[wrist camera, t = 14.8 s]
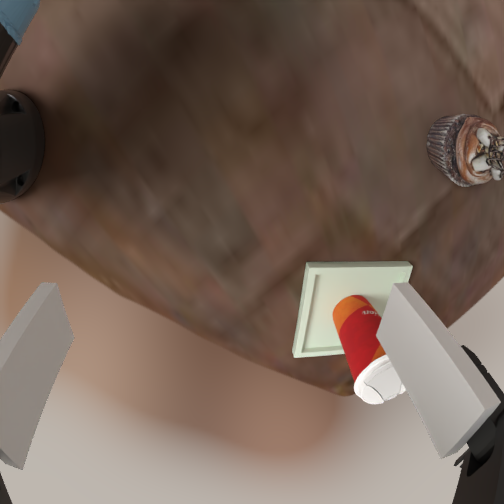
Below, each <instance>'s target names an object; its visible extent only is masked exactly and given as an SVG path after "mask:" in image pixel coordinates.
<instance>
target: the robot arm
mask: <svg viewBox="0 0 504 504" xmlns="http://www.w3.org/2000/svg"><path fill="white" fill-rule="evenodd" d="M39 5H40V0H0V78H1V76H2V74H3V72H4V70H5V68H6V66H7V64H8V63H9V61H10V59H11V57H12V55H13V53H14V52H15V50H16V48H17V46H18V45H19V46H20V44H21V42H22V37H23V35H24V33H25V31H26V29H27V27H28V26H29V24H30V22H31V20H32V19H33V17H34V15H35V14H36V12H37V10H38V8H39ZM44 147H45V137H44V128H43V124H42V120H41V117H40V114H39V112H38V110H37V108H36V106H35V105H34V103H33V102H32V101H31V100H30V99H29V98H28V97H27V96H26V95H24V94H23V93H21V92H18V91H14V90H3V91H0V204H1V203H6V202H9V201H11V200H13V199H15V198H16V197H18V196H20V195H21V194H23V193H24V192H26V191H27V190H28V189H29V188H30V186H31V185H32V184H33V182H34V181H35V179H36V177H37V175H38V173H39V171H40V168H41V165H42V161H43V156H44ZM376 337H377V338H378V340H379V342H380V344H381V345H382V347H383V349H384V351H385V352H386V354H387V356H388V358H389V360H390V361H391V363H392V365H393V367H394V369H395V370H396V372H397V374H398V376H399V378H400V380H401V381H402V383H403V385H404V387H405V389H406V391H407V392H408V395H409V396H410V398H411V400H412V402H413V404H414V406H415V408H416V410H417V412H418V414H419V416H420V417H421V419H422V422H423V424H424V425H425V427H426V429H427V431H428V433H429V435H430V437H431V440H432V442H433V444H434V446H435V448H436V450H437V452H438V454H439V456H440V458H441V459H442V458H445V457H447V456H450V455H452V454H454V453H456V452H458V451H459V450H460V449H461V448H462V447H463V446H464V445H465V444H466V443H467V444H468V446H469V449H468V450H467V451H466V452H465V453H464V454H463V455H462V456H460V457H459V458H458V459H457V460H456V462H455V464H454V466H457V465H458V464H459V463H460V462H461V461H462V460H463V459H464V461H463V464H462V465H461V466H460V467H461V468H462V470H461V474H460V478H459V482H458V485H457V489H456V493H455V496H454V499H453V503H452V504H504V393H503V392H502V391H501V389H500V388H499V386H498V385H497V383H496V382H495V381H494V379H493V378H492V376H491V375H490V374H489V373H487V370H486V368H485V367H484V366H483V365H481V362H480V360H479V359H478V358H477V356H476V355H475V354H474V353H473V352H472V351H470V350H469V349H468V348H467V347H465V346H464V345H462V346H460V344H459V343H458V342H457V341H456V339H455V338H454V337H453V335H452V334H451V333H450V332H449V331H448V329H447V328H446V327H445V325H444V324H443V323H442V322H441V320H440V319H439V318H438V317H437V316H436V314H435V313H434V312H433V311H432V310H431V308H430V307H429V306H428V305H427V304H426V302H425V301H424V300H423V299H422V298H421V296H420V295H419V294H418V293H417V292H416V291H415V290H414V288H413V287H412V286H411V285H410V284H409V283H408V282H405V283H393V285H392V289H391V292H390V295H389V298H388V301H387V305H386V308H385V311H384V314H383V317H382V320H381V323H380V325H379V328H378V331H377V334H376ZM73 340H74V335H73V332H72V329H71V327H70V324H69V321H68V318H67V315H66V312H65V308H64V305H63V302H62V299H61V295H60V292H59V288H58V285H57V283H44V282H42V283H41V284H40V285H39V286H38V288H37V289H36V290H35V292H34V293H33V294H32V296H31V297H30V298H29V300H28V301H27V302H26V304H25V305H24V306H23V308H22V309H21V311H20V312H19V313H18V315H17V316H16V318H15V319H14V320H13V322H12V323H11V325H10V326H9V328H8V329H7V331H6V332H5V334H4V335H3V337H2V338H1V340H0V459H1V460H2V461H3V462H4V463H5V464H8V465H10V466H13V467H16V468H18V469H21V470H23V467H24V464H25V461H26V457H27V454H28V451H29V448H30V445H31V442H32V439H33V436H34V433H35V430H36V428H37V425H38V422H39V419H40V417H41V414H42V411H43V409H44V406H45V404H46V401H47V399H48V396H49V394H50V391H51V389H52V386H53V384H54V382H55V379H56V377H57V374H58V372H59V370H60V368H61V366H62V363H63V361H64V359H65V357H66V354H67V352H68V350H69V348H70V346H71V344H72V342H73ZM0 504H12V502H11V499H10V497H9V494H8V492H7V489H6V487H5V484H4V481H3V479H2V476H1V473H0Z"/></svg>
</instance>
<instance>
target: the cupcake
mask: <svg viewBox="0 0 504 504" xmlns="http://www.w3.org/2000/svg"><path fill="white" fill-rule="evenodd" d="M427 139H428V140H427V151H428V155H429V158H430V160H431V162H432V164H434V166H435V167H436V168H438V169H439V170H440V171H441V172H443V173H444V174H445V175H446V176H447V177H448V178H450V179H451V180H452V181H453V182H454V183H456V184H458V185H461V186H462V187H463V185H464V186H465V187H467V186H468V187H470V185H471V186H472V185H476V184H482V183H486V182H488V181H489V180H490V179H491V178H492V177H493V178H494V179H495V180H500V179H501V178H502V176H503V175H504V167H503V164H502V162H501V161H504V154H503V152H504V138H503V137H500V135H499V133H498V130H497V129H496V127H495V126H494V125H493V124H492V123H491V122H490V121H488V120H486V119H483V118H481V117H479V116H477V115H466V114H461V115H456V116H446V117H442V118H441V119H439V120H437V121H436V122H435V123H434V124H433V125H432V127H431V129H430V131H429V134H428V136H427ZM501 158H502V159H501ZM466 185H467V186H466Z"/></svg>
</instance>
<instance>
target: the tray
mask: <svg viewBox="0 0 504 504" xmlns="http://www.w3.org/2000/svg"><path fill="white" fill-rule="evenodd" d="M412 268H413V266H412V265H411V264H410V263H409V262H408V261H378V262H306V268H305V275H304V281H303V288H302V295H301V301H300V308H299V314H298V320H297V326H296V332H295V338H294V344H293V349H292V352H293V356H294V358H298V357H312V356H325V355H336V354H345V353H344V350H343V347H342V345H341V342H340V339H339V336H338V333H337V330H336V327H335V324H334V321H333V310H334V308H335V306H336V305H337V304H338V303H339V302H340V301H341V300H342V299H344V298H346V297H348V296H351V295H360V296H363V297H365V298H366V299H367V300H368V301H369V303H370V304H371V305H372V306H373V307H374V309H375V310H376V311H377V313H378V314H379V315H380V316H381V318H382V317H383V314H384V311H385V308H386V305H387V301H388V298H389V295H390V292H391V289H392V285H393V283H405V282H408V281H409V278H410V274H411V271H412Z"/></svg>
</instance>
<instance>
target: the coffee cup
mask: <svg viewBox="0 0 504 504" xmlns="http://www.w3.org/2000/svg"><path fill="white" fill-rule="evenodd" d="M381 320H382V318H381V316H380V315H379V314H378V313H377V311H376V310H375V309H374V307H373V306H372V305H371V304H370V303H369V301H368V300H367V299H366V298H365V297H363V296H360V295H351V296H348V297H346V298H344V299H342V300H341V301H340V302H339V303H338V304H337V305H336V306H335V308H334V310H333V321H334V324H335V327H336V330H337V333H338V336H339V339H340V342H341V345H342V347H343V350H344V353H345V356H346V359H347V362H348V365H349V368H350V371H351V374H352V377H353V379H354V382H355V384H354V391H355V393H356V395H358V396H359V397H360V398H362V399H363V401H365V402H366V403H369V404H380V403H384V402H383V400H384V401H385V400H390V399H392V398H394V397H396V395H397V394H399V393H400V394H402V393H403V392H404V391H406V389H405V387H404V385H403V383H402V381H401V380H400V378H399V376H398V374H397V372H396V370H395V369H394V367H393V365H392V363H391V361H390V360H389V358H388V356H387V354H386V352H385V351H384V349H383V347H382V345H381V344H380V342H379V340H378V338H377V337H376V334H377V331H378V328H379V325H380V323H381Z"/></svg>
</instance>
